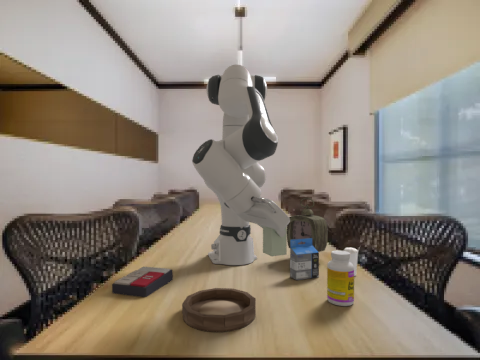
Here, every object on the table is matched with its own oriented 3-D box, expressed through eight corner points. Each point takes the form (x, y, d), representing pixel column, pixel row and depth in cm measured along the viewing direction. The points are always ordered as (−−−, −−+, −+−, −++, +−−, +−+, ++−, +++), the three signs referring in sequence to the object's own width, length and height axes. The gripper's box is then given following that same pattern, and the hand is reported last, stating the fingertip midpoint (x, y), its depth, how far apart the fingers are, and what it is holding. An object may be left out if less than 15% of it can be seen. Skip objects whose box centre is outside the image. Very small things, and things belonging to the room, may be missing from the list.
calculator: (111, 281, 82) (143, 264, 96) (111, 296, 82) (143, 277, 96) (145, 285, 79) (173, 267, 93) (145, 301, 79) (173, 280, 93)
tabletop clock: (286, 257, 121) (286, 197, 121) (301, 254, 126) (300, 196, 126) (315, 265, 109) (315, 198, 110) (330, 261, 115) (329, 198, 115)
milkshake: (362, 277, 96) (362, 247, 96) (344, 276, 97) (344, 246, 97) (359, 273, 100) (359, 244, 100) (342, 272, 101) (342, 243, 101)
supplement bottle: (351, 309, 72) (351, 256, 72) (324, 303, 75) (324, 253, 75) (356, 300, 77) (356, 251, 77) (331, 295, 81) (330, 248, 81)
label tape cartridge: (296, 280, 92) (296, 241, 93) (289, 277, 96) (289, 239, 96) (319, 277, 96) (319, 239, 96) (312, 274, 99) (312, 237, 100)
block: (262, 252, 78) (263, 215, 78) (277, 250, 80) (277, 214, 80) (271, 256, 74) (271, 216, 74) (286, 254, 76) (286, 216, 76)
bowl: (175, 306, 73) (175, 294, 73) (237, 295, 80) (237, 284, 80) (195, 339, 58) (195, 324, 58) (269, 321, 65) (269, 308, 65)
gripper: (273, 188, 65) (308, 229, 69) (235, 186, 83) (264, 219, 87) (255, 209, 63) (293, 250, 67) (220, 202, 81) (251, 235, 86)
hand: (276, 232), depth 77 cm, fingers closed on block, 4 cm apart
